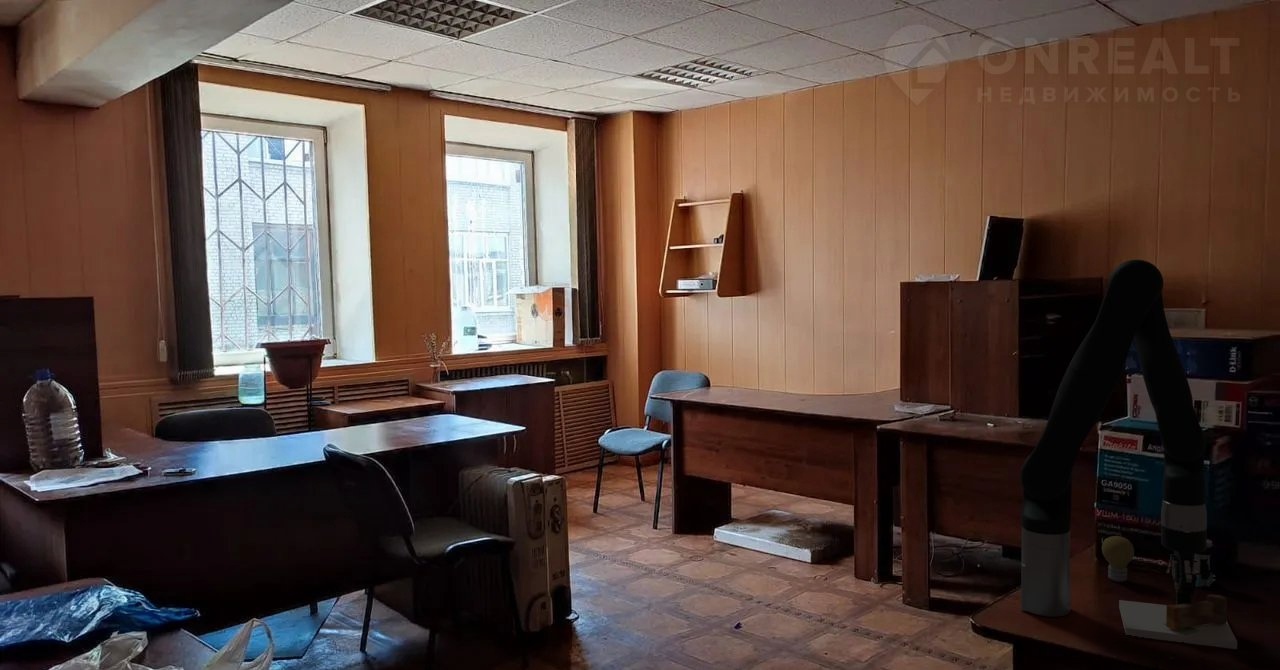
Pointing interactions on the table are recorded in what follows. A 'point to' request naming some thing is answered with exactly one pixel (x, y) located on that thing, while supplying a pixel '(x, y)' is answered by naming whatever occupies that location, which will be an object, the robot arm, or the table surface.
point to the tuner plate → (1152, 625)
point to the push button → (1205, 565)
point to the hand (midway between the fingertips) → (1183, 610)
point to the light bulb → (1117, 556)
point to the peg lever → (1197, 613)
